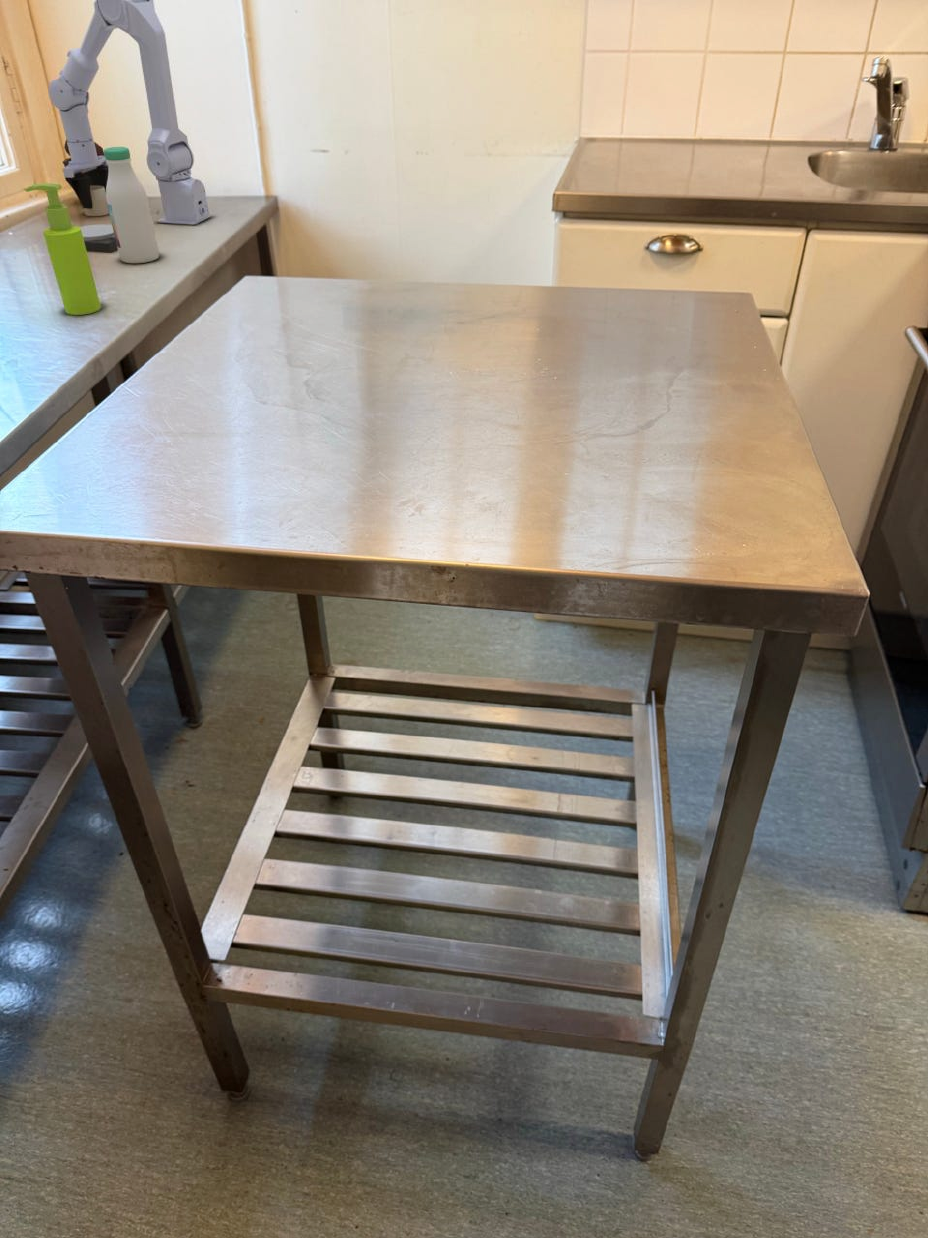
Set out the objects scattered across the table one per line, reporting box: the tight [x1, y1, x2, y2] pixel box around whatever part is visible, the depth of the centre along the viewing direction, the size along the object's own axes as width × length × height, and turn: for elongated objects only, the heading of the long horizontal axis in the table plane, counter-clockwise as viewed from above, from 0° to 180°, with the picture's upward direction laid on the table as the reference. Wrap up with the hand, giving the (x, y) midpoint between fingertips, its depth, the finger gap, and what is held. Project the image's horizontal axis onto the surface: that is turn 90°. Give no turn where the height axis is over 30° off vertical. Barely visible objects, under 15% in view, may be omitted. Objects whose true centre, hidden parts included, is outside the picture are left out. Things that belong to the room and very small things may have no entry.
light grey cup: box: [83, 185, 110, 217], centre depth 209 cm, size 6×6×6 cm
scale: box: [79, 224, 118, 254], centre depth 189 cm, size 13×11×3 cm
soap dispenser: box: [24, 182, 102, 316], centre depth 150 cm, size 6×7×20 cm
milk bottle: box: [103, 146, 160, 264], centre depth 174 cm, size 8×8×20 cm
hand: (95, 204), depth 210 cm, fingers closed on light grey cup, 5 cm apart
